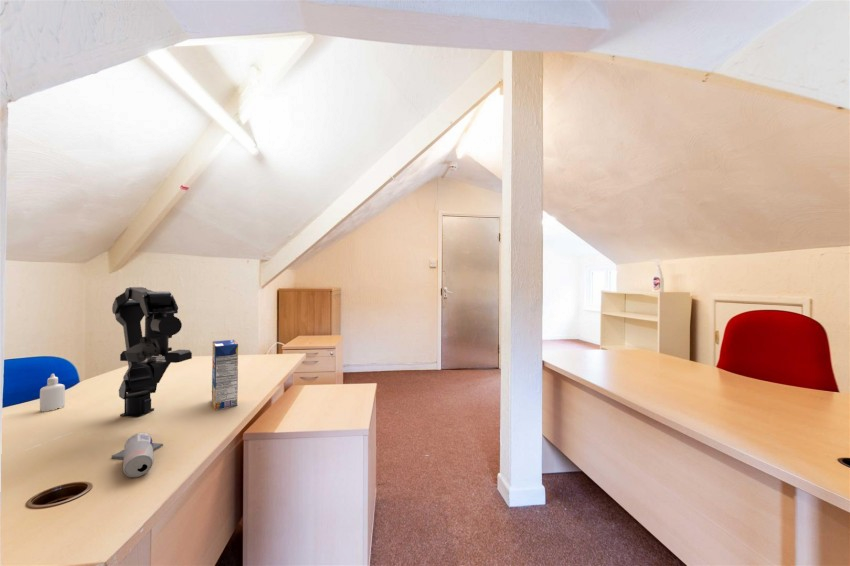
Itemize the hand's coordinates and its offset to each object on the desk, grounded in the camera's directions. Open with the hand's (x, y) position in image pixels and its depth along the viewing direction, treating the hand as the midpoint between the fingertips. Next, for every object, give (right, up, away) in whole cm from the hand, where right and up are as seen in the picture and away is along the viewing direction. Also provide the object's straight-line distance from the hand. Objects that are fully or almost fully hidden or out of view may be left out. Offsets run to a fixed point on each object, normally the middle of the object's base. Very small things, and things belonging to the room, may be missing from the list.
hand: (156, 383), depth 103 cm
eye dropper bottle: (-44, -12, +11) cm, 48 cm away
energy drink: (+9, -10, -18) cm, 22 cm away
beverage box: (+9, -13, +19) cm, 25 cm away
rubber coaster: (+8, -13, -16) cm, 22 cm away
